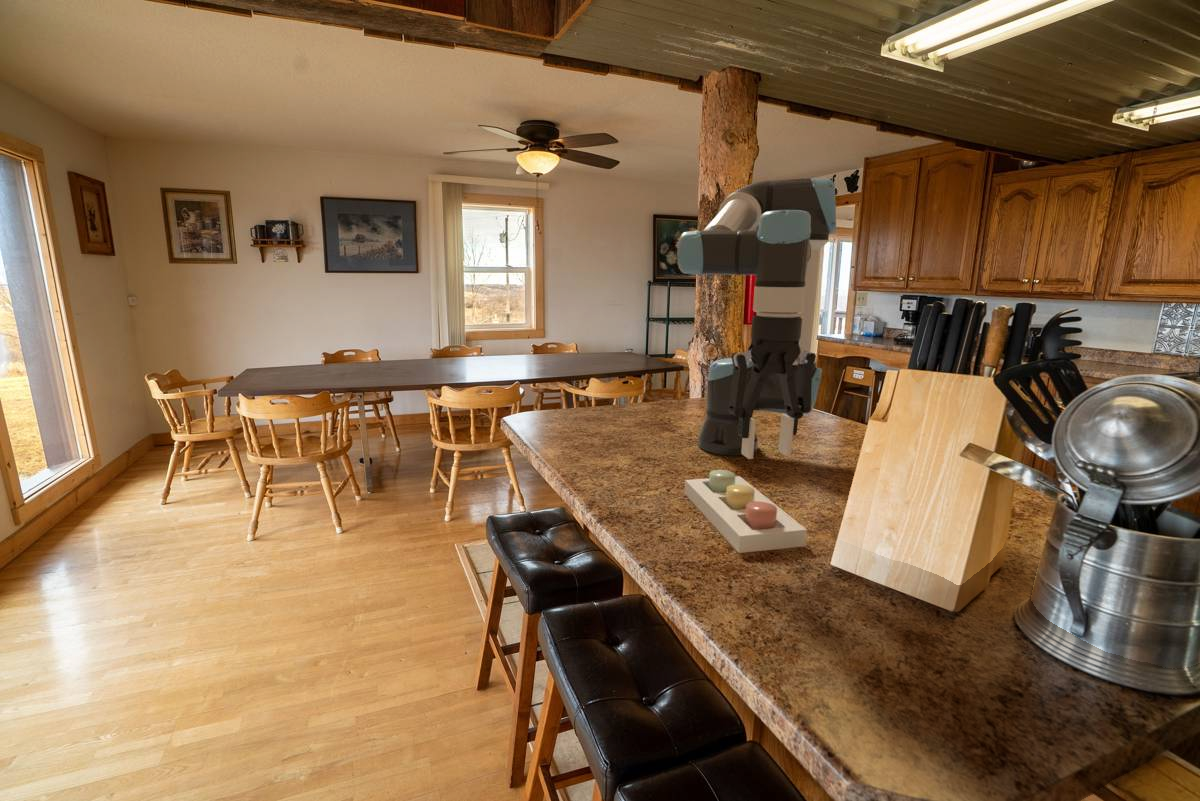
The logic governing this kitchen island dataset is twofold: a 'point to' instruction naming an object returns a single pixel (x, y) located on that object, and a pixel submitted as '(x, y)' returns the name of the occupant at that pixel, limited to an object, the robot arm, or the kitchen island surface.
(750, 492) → the ochre button
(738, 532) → the panel
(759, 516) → the brick button
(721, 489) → the sage button
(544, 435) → the kitchen island surface
